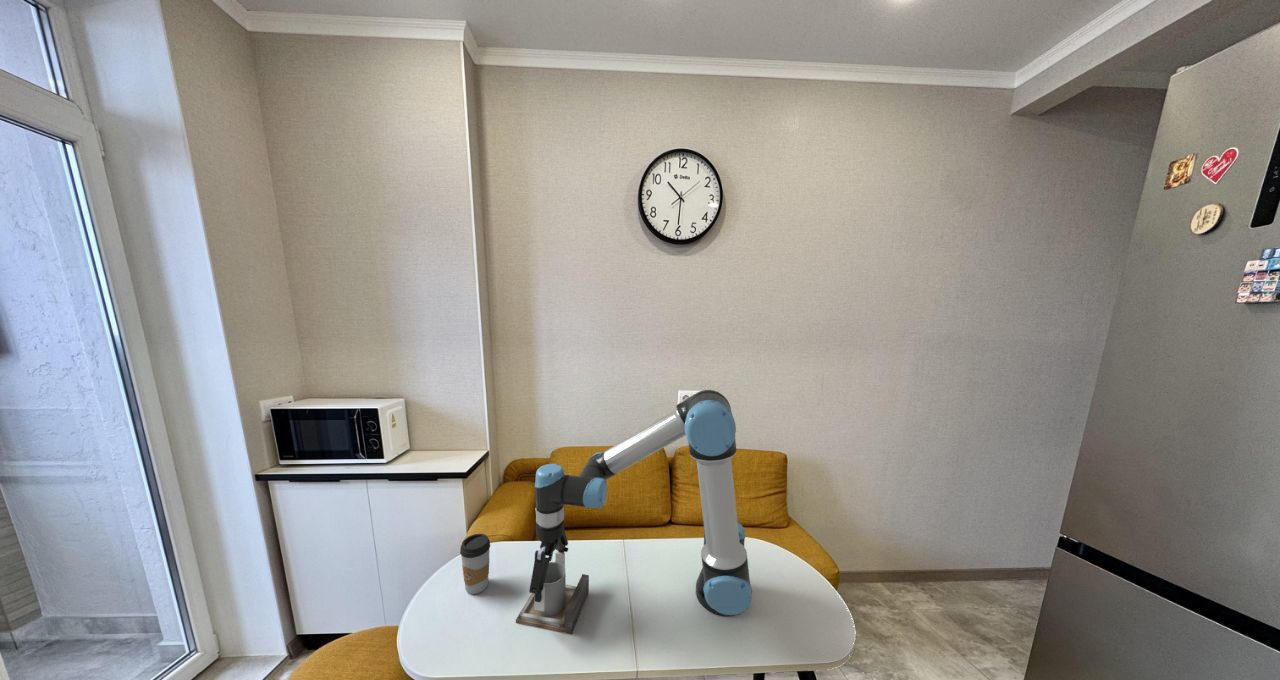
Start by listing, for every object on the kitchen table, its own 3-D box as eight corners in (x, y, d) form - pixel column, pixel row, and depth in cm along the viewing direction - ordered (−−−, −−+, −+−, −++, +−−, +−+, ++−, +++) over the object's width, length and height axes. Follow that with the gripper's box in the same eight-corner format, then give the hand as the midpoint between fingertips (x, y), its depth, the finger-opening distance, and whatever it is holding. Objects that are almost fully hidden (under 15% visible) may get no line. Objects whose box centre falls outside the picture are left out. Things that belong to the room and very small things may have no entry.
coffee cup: (455, 592, 113) (453, 546, 111) (476, 573, 121) (475, 529, 119) (476, 601, 110) (475, 554, 108) (497, 581, 117) (496, 536, 116)
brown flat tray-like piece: (588, 593, 114) (588, 575, 113) (571, 634, 100) (571, 614, 99) (539, 584, 117) (539, 566, 116) (515, 622, 103) (515, 603, 102)
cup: (558, 619, 103) (557, 586, 102) (530, 613, 105) (529, 581, 103) (570, 595, 111) (569, 564, 110) (544, 590, 113) (543, 559, 112)
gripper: (555, 495, 118) (556, 557, 121) (514, 548, 94) (516, 624, 96) (578, 498, 116) (578, 561, 119) (542, 552, 92) (543, 630, 95)
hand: (550, 590), depth 108 cm, fingers open, 13 cm apart
